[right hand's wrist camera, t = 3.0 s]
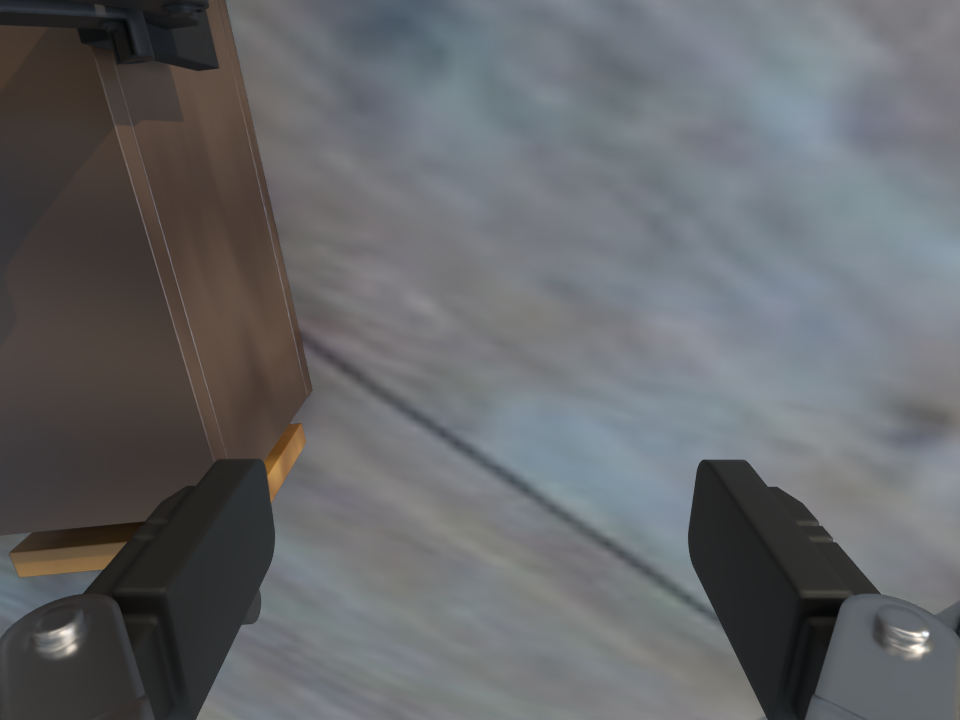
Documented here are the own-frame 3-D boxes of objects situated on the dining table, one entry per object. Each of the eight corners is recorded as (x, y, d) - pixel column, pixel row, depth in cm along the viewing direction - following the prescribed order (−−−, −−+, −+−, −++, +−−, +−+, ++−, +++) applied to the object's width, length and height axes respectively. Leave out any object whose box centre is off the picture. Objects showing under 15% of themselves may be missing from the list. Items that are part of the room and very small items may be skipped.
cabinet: (312, 390, 33) (229, 513, 22) (127, 409, 34) (-42, 540, 23) (209, -71, 26) (14, -216, 15) (-25, -38, 27) (-375, -157, 16)
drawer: (328, 535, 35) (275, 673, 26) (174, 550, 36) (69, 691, 27) (209, 29, 27) (68, -25, 18) (6, 56, 27) (-234, 16, 18)
